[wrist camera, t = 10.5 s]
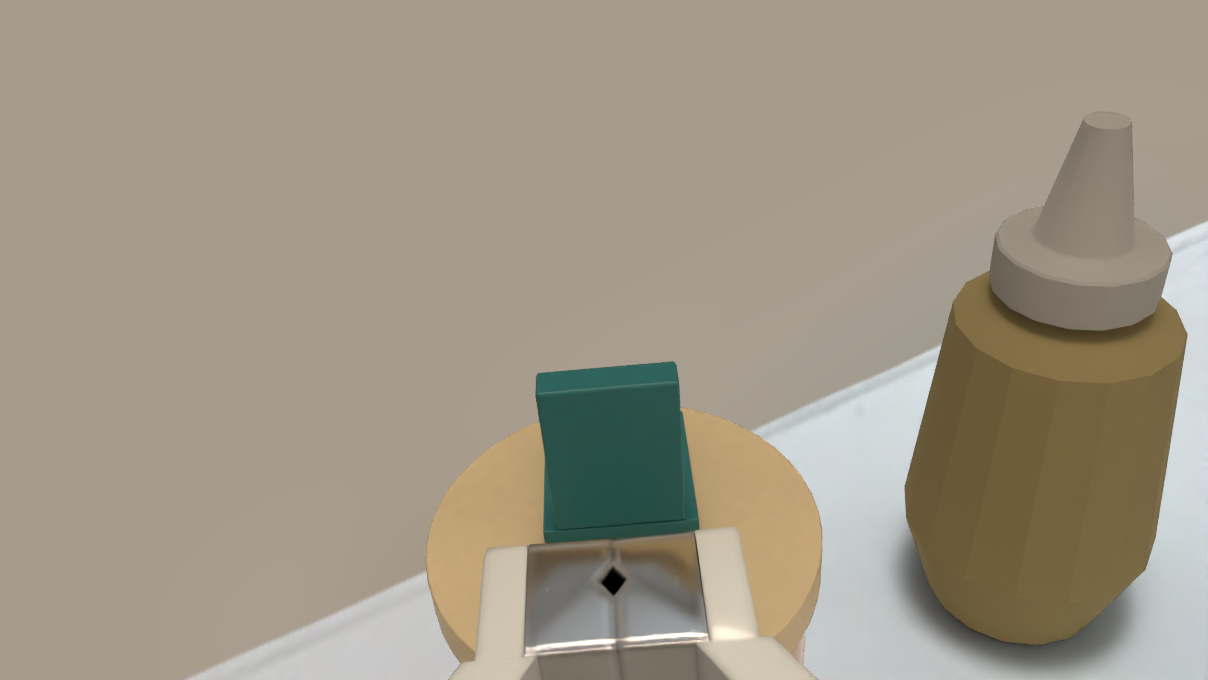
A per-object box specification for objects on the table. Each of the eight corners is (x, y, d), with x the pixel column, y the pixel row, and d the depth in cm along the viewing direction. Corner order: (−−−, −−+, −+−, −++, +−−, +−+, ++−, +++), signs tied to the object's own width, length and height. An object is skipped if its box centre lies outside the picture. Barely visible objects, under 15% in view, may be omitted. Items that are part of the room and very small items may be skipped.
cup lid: (451, 450, 29) (444, 417, 28) (782, 422, 29) (783, 388, 28) (412, 747, 21) (401, 712, 21) (862, 712, 21) (866, 675, 21)
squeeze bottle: (913, 486, 42) (966, 57, 32) (1131, 531, 39) (1268, 74, 29) (876, 639, 36) (926, 171, 26) (1131, 705, 33) (1304, 207, 23)
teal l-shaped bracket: (547, 433, 27) (526, 292, 25) (683, 422, 27) (676, 279, 24) (544, 544, 24) (520, 395, 21) (699, 532, 24) (693, 381, 21)
